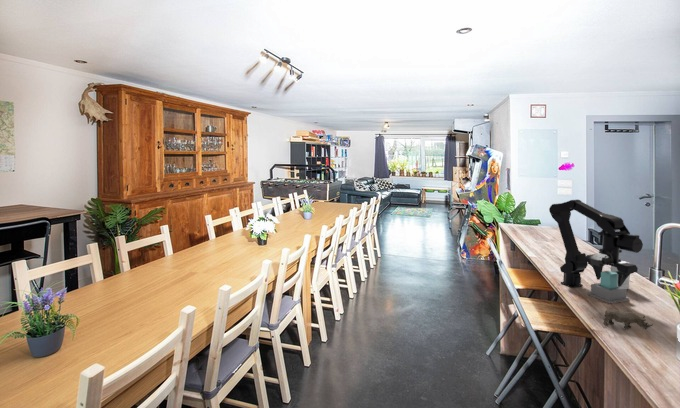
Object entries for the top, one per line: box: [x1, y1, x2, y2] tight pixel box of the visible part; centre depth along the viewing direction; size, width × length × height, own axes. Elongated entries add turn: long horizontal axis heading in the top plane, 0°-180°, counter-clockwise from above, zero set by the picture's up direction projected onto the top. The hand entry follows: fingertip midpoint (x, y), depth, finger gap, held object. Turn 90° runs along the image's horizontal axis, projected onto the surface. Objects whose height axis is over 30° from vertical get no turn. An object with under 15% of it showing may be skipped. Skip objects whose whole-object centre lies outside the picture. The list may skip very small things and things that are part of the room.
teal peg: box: [599, 270, 618, 289], centre depth 152 cm, size 4×4×10 cm
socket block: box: [587, 282, 630, 304], centre depth 153 cm, size 10×10×5 cm
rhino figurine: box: [602, 308, 654, 331], centre depth 126 cm, size 4×14×6 cm, turn 52°
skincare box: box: [610, 260, 631, 289], centre depth 163 cm, size 6×4×12 cm
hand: (608, 282), depth 152 cm, fingers open, 9 cm apart
